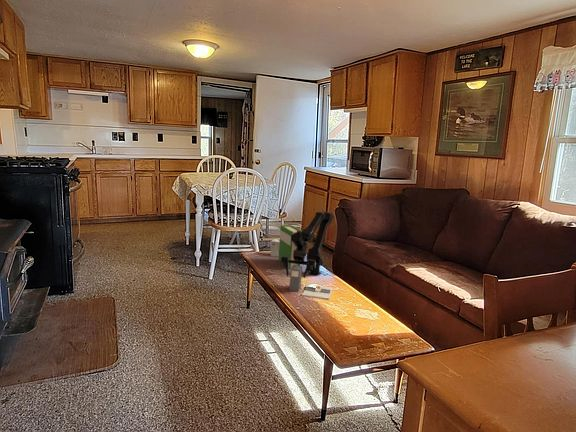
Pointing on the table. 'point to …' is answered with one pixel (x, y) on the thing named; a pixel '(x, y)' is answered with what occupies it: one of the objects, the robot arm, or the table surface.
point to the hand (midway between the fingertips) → (295, 276)
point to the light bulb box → (275, 247)
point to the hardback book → (287, 243)
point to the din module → (295, 278)
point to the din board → (318, 293)
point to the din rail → (315, 289)
